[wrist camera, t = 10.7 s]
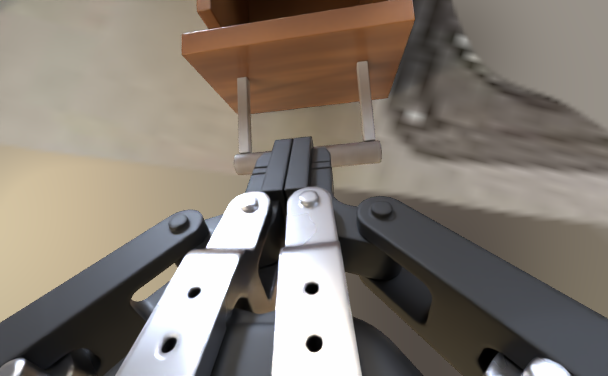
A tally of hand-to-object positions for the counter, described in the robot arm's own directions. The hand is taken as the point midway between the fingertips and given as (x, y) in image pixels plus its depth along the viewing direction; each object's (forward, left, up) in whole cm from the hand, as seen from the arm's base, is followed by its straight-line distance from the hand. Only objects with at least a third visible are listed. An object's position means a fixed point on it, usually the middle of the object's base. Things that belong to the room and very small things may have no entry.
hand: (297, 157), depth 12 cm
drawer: (-8, +6, -8) cm, 13 cm away
